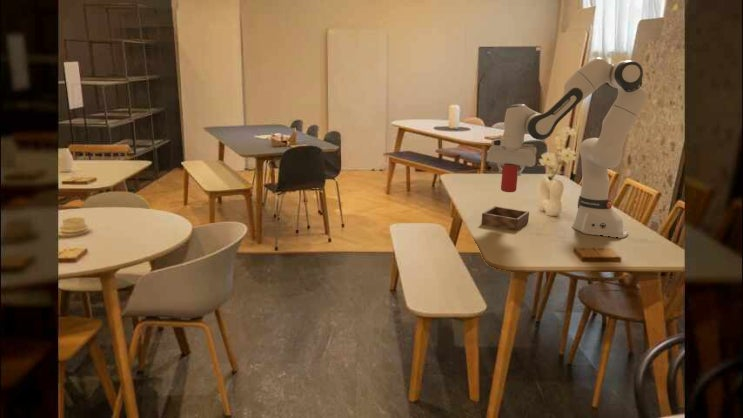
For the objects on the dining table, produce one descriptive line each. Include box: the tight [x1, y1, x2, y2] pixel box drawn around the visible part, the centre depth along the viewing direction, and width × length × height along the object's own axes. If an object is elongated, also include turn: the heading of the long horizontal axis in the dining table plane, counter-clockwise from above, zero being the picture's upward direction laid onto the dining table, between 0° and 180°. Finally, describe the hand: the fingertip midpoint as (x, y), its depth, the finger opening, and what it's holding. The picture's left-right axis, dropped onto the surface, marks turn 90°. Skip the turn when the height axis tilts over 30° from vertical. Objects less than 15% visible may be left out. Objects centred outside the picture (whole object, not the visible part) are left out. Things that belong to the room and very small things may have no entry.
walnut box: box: [481, 205, 530, 232], centre depth 252 cm, size 16×16×5 cm
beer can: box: [500, 163, 519, 193], centre depth 248 cm, size 7×7×12 cm
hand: (509, 174), depth 247 cm, fingers closed on beer can, 7 cm apart
